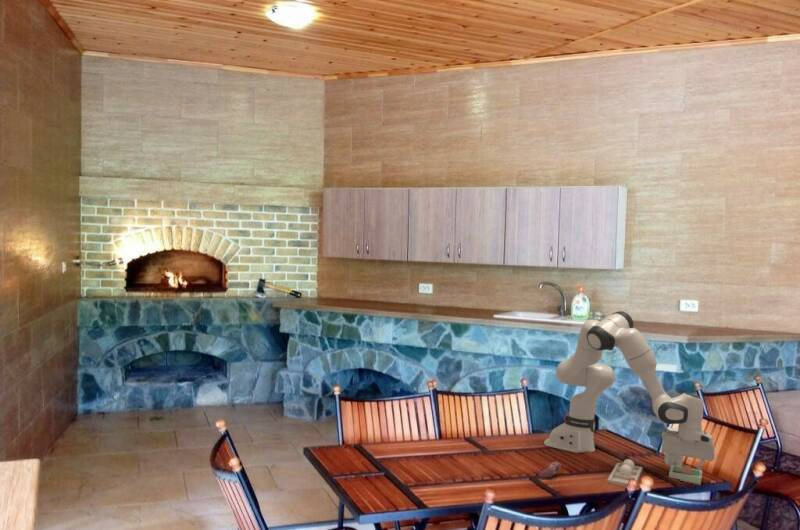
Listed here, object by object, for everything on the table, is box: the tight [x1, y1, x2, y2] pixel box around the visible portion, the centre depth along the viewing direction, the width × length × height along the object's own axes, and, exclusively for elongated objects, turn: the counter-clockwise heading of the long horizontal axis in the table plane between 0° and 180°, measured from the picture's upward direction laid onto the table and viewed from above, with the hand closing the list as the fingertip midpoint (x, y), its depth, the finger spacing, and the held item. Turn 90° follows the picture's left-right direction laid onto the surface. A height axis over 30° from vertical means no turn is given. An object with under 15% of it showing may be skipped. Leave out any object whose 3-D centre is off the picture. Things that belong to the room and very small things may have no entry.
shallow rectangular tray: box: [606, 462, 643, 488], centre depth 298 cm, size 10×28×2 cm, turn 156°
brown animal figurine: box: [539, 461, 562, 479], centre depth 292 cm, size 10×5×7 cm, turn 149°
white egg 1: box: [622, 458, 636, 470], centre depth 306 cm, size 5×5×5 cm
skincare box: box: [663, 426, 684, 467], centre depth 324 cm, size 8×7×16 cm
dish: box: [668, 465, 703, 486], centre depth 305 cm, size 12×12×3 cm
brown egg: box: [680, 465, 694, 475], centre depth 305 cm, size 5×5×5 cm
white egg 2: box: [620, 464, 632, 476], centre depth 298 cm, size 5×5×5 cm
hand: (686, 467), depth 305 cm, fingers open, 8 cm apart
